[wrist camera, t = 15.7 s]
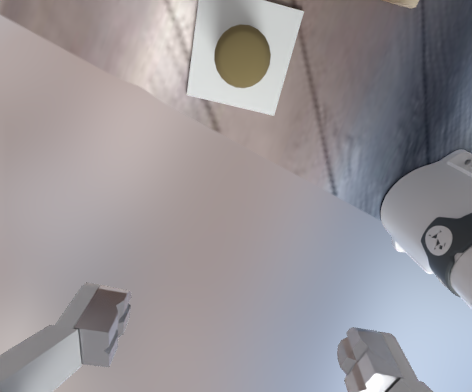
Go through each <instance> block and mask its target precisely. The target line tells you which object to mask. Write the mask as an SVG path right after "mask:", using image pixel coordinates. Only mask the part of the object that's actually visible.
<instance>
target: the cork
mask: <svg viewBox="0 0 472 392" xmlns="http://www.w3.org/2000/svg"><path fill="white" fill-rule="evenodd" d="M270 58H271V53H270V47H269V44H268V42H267V40H266V38H265V36H264V35H263V34H262V33H261V32H260V31H259V30H258V29H256V28H254V27H252V26H250V25H242V24H240V25H236V26H233V27H230V28H229V29H228V30H226V31H225V32H224V33H223V34H222V35H221V37H220V38H219V40H218V42H217V45H216V48H215V54H214V61H215V65H216V69H217V71H218V73H219V75H220V76H221V78H222V79H223V80H224V81H225V82H226V83H227V84H229V85H231V86H234V87H236V88H247V87H251V86H253V85H255V84H257V83H258V82H260V81H261V79H262V78H263V77H264V76H265V74H266V73H267V70H268V68H269V65H270Z"/></svg>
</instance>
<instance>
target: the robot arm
mask: <svg viewBox="0 0 472 392" xmlns="http://www.w3.org/2000/svg"><path fill="white" fill-rule="evenodd" d="M466 160H467V161H466ZM465 161H466V162H465ZM381 221H382V224H383V226H384V227H385V229H386V230H387V231H388V232H389V234H390V235H391V238H392V245H393V247H394V248H395V249H396V250H397V251H398V252H406V253H407V254H408V255H409V256H410V257H411V258H412V259H413V260H414V261H415V262H416V263H417V264H418V265H419V266H420V267H421V268H422V269H423V270H424V271H425V272H427V273H429V274H435V275H436V277H437V278H438V279H439V281H440V282H441V283H442V284H443V285H444V286H445V287H447V288H448V289H449V290H450V291H451V292H452V293H453V294H455V295H456V296H459V297H461V298H462V299H463V300H464V301H465V303H466V304H467V305H468V306H469V307H470V308H471V309H472V153H470V152H468V151H466V150H464V149H459V150H456V151H454V152H452V153H451V154H449V155H447V156H446V157H444V158H443V159H441V160H440V161H438V162H435V163H432V164H429V165H426V166H423V167H420V168H418V169H416V170H414V171H412V172H410V173H408V174H407V175H405V176H404V177H403V178H401V179H400V180H399V181H398V182H397V183H396V184H395V185H394V186H393V187H392V188H391V189H390V191H389V192H388V193H387V195H386V197H385V199H384V201H383V204H382V207H381ZM130 299H131V291H129V290H124V289H119V288H114V287H109V286H104V285H98V284H93V283H87V282H86V283H85V284H84V285H83V286H82V287H81V288H80V289H79V291H78V292H77V294H76V295H75V297H74V298H73V300H72V301H71V302H70V304H69V305H68V307H67V308H66V310H65V311H64V313H63V314H62V316H61V317H60V318H59V320H58V321H57V323H56V324H55V325H49V326H47V327H45V328H44V329H43V330H41V331H39V332H37V333H36V334H34V335H32V336H31V337H29V338H27V339H26V340H24V341H23V342H21V343H19V344H18V345H16V346H14V347H13V348H11V349H9V350H8V351H6V352H5V353H3V354H1V355H0V392H53V391H54V390H55V389H57V388H58V387H59V386H60V385H61V384H62V383H63V382H64V381H66V380H67V379H68V378H69V377H70V376H71V375H72V374H73V373H74V372H76V370H78V369H79V368H80V367H81V366H82V364H86V365H94V366H104V367H109V366H110V364H111V362H112V359H113V357H114V355H115V352H116V350H117V348H118V338H119V337H120V336H121V335H123V333H124V331H125V329H126V326H127V323H128V320H129V316H130V310H131V305H130V304H129V301H130ZM347 336H348V337H347V338H345V339H343V340H341V342H340V343H339V345H338V351H337V356H338V362H339V365H340V367H341V368H342V370H343V371H344V372H345V373H346V377H345V380H344V381H345V384H346V387H347V390H348V392H433V391H432V390H431V389H430V388H429V387H428V386H427V385H425V383H424V382H421V381H419V380H418V379H417V377H416V375H415V373H414V371H413V369H412V368H411V366H410V364H409V362H408V360H407V358H406V357H405V355H404V353H403V351H402V349H401V347H400V345H399V344H398V342H397V340H396V338H395V337H394V336H393V335H392V334H390V333H384V332H377V331H374V330H366V329H361V328H354V327H353V328H350V329H349V330H348V331H347Z"/></svg>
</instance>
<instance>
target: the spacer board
mask: <svg viewBox="0 0 472 392" xmlns="http://www.w3.org/2000/svg"><path fill="white" fill-rule="evenodd" d="M382 1H386V2H389V3H393V4H396V5H400V6H403V7H407V8H410V9H412V8H416V6H417V4H418V2H419V0H382Z"/></svg>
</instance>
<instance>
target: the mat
mask: <svg viewBox="0 0 472 392" xmlns="http://www.w3.org/2000/svg"><path fill="white" fill-rule="evenodd" d="M303 13H304V11H301V10H297V9H294V8H290V7H286V6H283V5H279V4H275V3H272V2H268V1H265V0H199V1H198V9H197V17H196V25H195V33H194V41H193V49H192V57H191V64H190V72H189V80H188V88H187V95H189V96H193V97H197V98H202V99H206V100H210V101H214V102H218V103H223V104H227V105H231V106H235V107H239V108H244V109H248V110H252V111H256V112H260V113H265V114H269V115H273V116H274V114H275V110H276V107H277V103H278V100H279V97H280V93H281V90H282V86H283V83H284V79H285V76H286V72H287V69H288V65H289V62H290V58H291V55H292V51H293V48H294V44H295V41H296V37H297V34H298V31H299V27H300V24H301V20H302V17H303ZM240 24H242V25H250V26H252V27H254V28H256V29H258V30H259V31H260V32H261V33H262V34H263V35H264V36H265V38H266V40H267V42H268V44H269V47H270V53H271V58H270V65H269V68H268V70H267V73H266V74H265V76H264V77H263V78H262V79H261V81H260V82H258V83H257V84H255V85H253V86H251V87H247V88H236V87H234V86H231V85H229V84H227V83H226V82H225V81H224V80H223V79H222V78H221V76H220V75H219V73H218V71H217V69H216V65H215V61H214V54H215V48H216V45H217V42H218V40H219V38H220V37H221V35H222V34H223V33H224V32H225V31H226V30H228V29H229V28H230V27H233V26H236V25H240Z"/></svg>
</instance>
